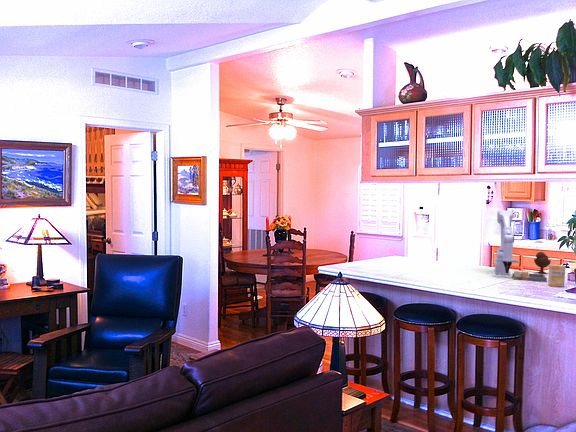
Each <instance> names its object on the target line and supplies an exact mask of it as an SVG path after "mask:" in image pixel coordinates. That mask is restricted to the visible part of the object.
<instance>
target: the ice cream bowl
mask: <svg viewBox="0 0 576 432" xmlns="http://www.w3.org/2000/svg"><path fill="white" fill-rule="evenodd" d="M535 257H536V258H534V259H533V260H534V261H533V262H534V264H535V265H536V266H537V267H539V268H540V270H539V271H537V274H543V275H546V274H547V272H545V271H544V268H547V267H549V264H550V265H551V261H552V260H551V259H549V256H548V255H547V254H546V253H545V252H542V251H539V252H537V253H536V254H535Z"/></svg>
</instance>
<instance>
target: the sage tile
mask: <svg viewBox="0 0 576 432" xmlns="http://www.w3.org/2000/svg"><path fill="white" fill-rule="evenodd" d="M513 273H514V275H515V276H521V271H520V270H513Z"/></svg>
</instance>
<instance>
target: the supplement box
mask: <svg viewBox="0 0 576 432" xmlns="http://www.w3.org/2000/svg"><path fill="white" fill-rule="evenodd" d="M565 276H566V265H563V264H551V263H550V264H549V265H548V279H547V280H548V281H547V285H548V286H549V287H556V288H561V287H562V288H565V282H566V281H565V280H566V277H565Z"/></svg>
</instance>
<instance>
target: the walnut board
mask: <svg viewBox="0 0 576 432" xmlns="http://www.w3.org/2000/svg"><path fill="white" fill-rule="evenodd" d="M529 274H530V273H528V276H515V275H514V272H513V273H512V274H511V277H512V278H514V279H513V280H514V281H526V282H527V281H528V282H529V281H530V282H532V281H531V277H530V276H529Z"/></svg>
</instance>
